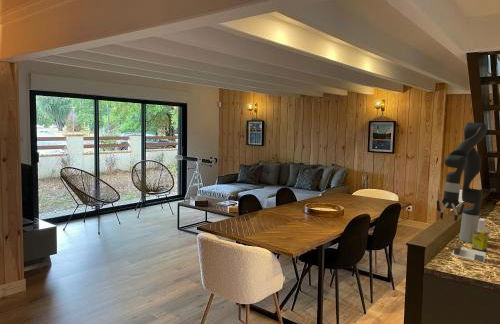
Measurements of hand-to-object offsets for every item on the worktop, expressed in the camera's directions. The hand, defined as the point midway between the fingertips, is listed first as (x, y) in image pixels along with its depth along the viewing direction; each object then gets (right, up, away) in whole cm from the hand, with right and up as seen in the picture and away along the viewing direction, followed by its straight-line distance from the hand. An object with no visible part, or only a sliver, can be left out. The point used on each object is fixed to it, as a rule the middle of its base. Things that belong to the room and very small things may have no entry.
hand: (448, 220), depth 209 cm
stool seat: (+7, -19, -7) cm, 21 cm away
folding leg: (+3, -17, -4) cm, 17 cm away
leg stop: (+7, -18, -17) cm, 26 cm away
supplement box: (+22, -19, +8) cm, 30 cm away
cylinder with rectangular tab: (+41, -17, +38) cm, 58 cm away
